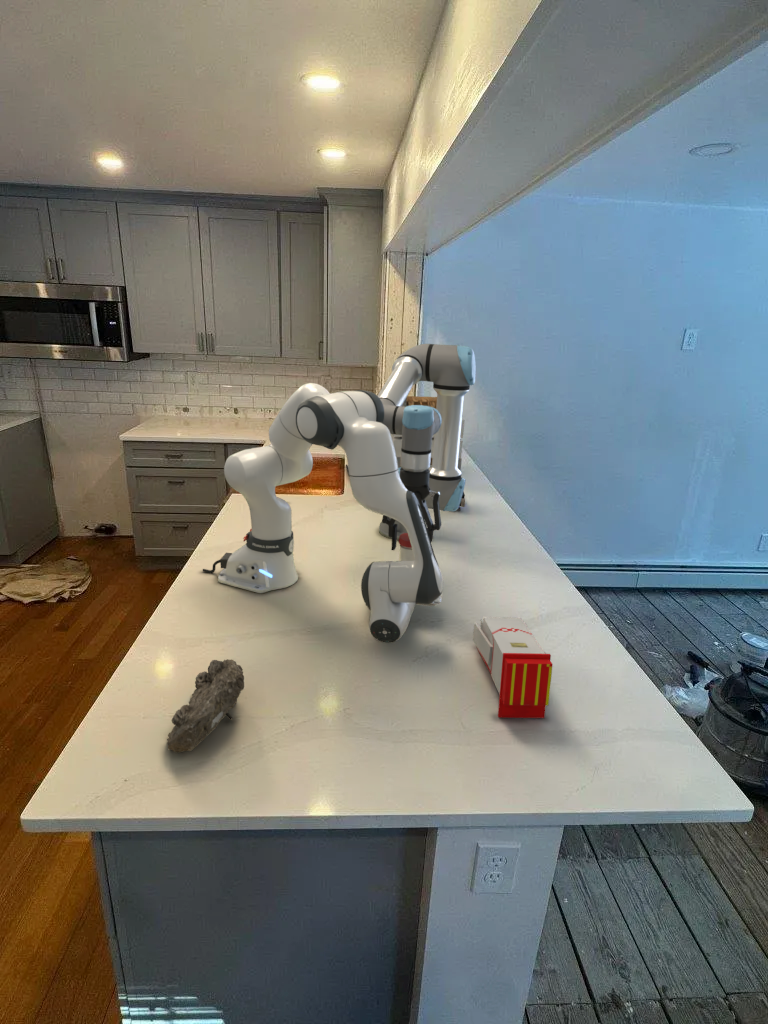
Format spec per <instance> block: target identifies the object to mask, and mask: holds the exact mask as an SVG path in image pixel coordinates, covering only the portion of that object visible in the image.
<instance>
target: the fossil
mask: <svg viewBox="0 0 768 1024" xmlns="http://www.w3.org/2000/svg"><path fill="white" fill-rule="evenodd" d="M243 670H244V669H243V667H242V665H240V664H237V662H236V661H235V660H234V659H232V658H231V659H227V658H226V659H224V660H223V661H222V660H217V659H212V660H211V661H210V663H209V665H208V666H207V671H201V672H199V673H198V674H197V675H196V676H195V680H194V684H195V685H194V687H195V689H194V690H193V693H192V694H191V697H190V698H189V700H188V704H184V705H182V706H181V707H180V709H177V710H176V711H175V713H174V715H173V716H172V718H171V723H172V724H173V727H172V730H171V731H170V732H168V734H167V738H166V741H167V742H166V745H167V749H168V750H169V751H173V752H174V753H176V754H178V753H182V752H188V751H189V752H192V751H193V750H195V748H196V747H197V746H199V744H200V743H201V742H203V741H204V740H205V739H206V738H207V737H208V736H209V735H210V734H211V733H212V732H214V730H215V729H217V727H218V726H219V724H220V722H221V721H222V720H223V719H224V718H225V716H226V717H227V719H229V720H233V717H232V715H230V714H229V710H230V709H231V708H234V706H235V704H236V703H237V702H238V699H239V697H240V695H241V693H242V691H243V690H245V689H244V688H245V675H244V671H243Z"/></svg>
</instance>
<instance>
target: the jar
mask: <svg viewBox="0 0 768 1024" xmlns="http://www.w3.org/2000/svg"><path fill="white" fill-rule="evenodd" d="M398 552H399V553H398V561H412V560H415V556H414V553H413V549H412V548H409V547H404V546H402V545H400V544H399V551H398Z"/></svg>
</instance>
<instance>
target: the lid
mask: <svg viewBox="0 0 768 1024" xmlns="http://www.w3.org/2000/svg"><path fill="white" fill-rule="evenodd" d="M398 544H399V546H400V545H402V546H404V547H409V548H412V546H411V543H410V539H409V536H408V533H404V534H401V535H400V536H399V540H398Z"/></svg>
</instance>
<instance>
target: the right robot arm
mask: <svg viewBox="0 0 768 1024" xmlns="http://www.w3.org/2000/svg"><path fill="white" fill-rule="evenodd" d="M476 365H477V364H476V355H475V351H474V349H473V348H472V347H470V346H466V345H465V346H464V345H460V344H440V343H439V344H438V343H421V344H417V345H415V346H412V347H410V348H409V349H407V350H405V351H403V352H402V353H401V354H399V356H397V358H396V359H395V360H394V362H393V364H392V367H391V373H390V374H389V376H388V378H387V380H386V381H385V383H384V384H383V386H382V387H381V389H380V390H379V392H378V394H376V395H377V396H378V397H379V398H380V400H381V402H382V404H383V407H384V420H383V423H382V424H384V425H385V426H387V428H388V429H389V431H390V434H396V435H402V447H401V461H400V466H401V468H398V471H399V475H400V478H401V481H402V483H403V484H404V486H405V487H406V489H407V490H409V491H411V492H413V493H414V494H415V496H416V497H417V499H418V502H419V504H420V507H421V510H422V513H423V517H424V520H425V523H426V527H427V530H428V534H429V537H430V541H431V543H432V542H433V541H434V534H435V533H434V532H435V531H440V529H441V527H442V519H441V511H443V512H456V511H457V510H459V509H458V507H459V505H460V502H461V499H462V495H463V491H465V486H466V479H465V478H464V477H462V470H461V471H460V470H459V469H458V456H459V445H460V439H461V438H460V434H461V423H462V419H463V410H464V402H465V401H464V399H465V395H466V394H467V393H468V392H470V388H471V386H474V385H475V383H476V375H477V374H476V372H477V371H476V370H477V367H476ZM419 382H429V383H432V389H433V390H434V391H435V393H436V397H437V405H436V409H435V408H433V407H429V406H423V405H411V406H407V407H401V406H402V405H403V403H404V401H405V399H406V397H407V396H409V394H410V392H411V390H412V388H413V387H414V386H415V385H416V384H418V383H419ZM433 435H434V444H433V457H432V465H430V460H431V444H432V436H433ZM345 468H346V472H347V475H348V476H349V470H348V464H345ZM429 510H433V518H432V516H431V513H430V511H429ZM433 520H434V521H433ZM378 533H379V534H380V535H381V536H382V537H385V538H387V539H389V540H391V547H390V550H391V551H395V550H396V548H397V541H399V536H400V535H401V534H404V533H408V532H407V530H406V528H405V527H404V526H403V525H402V524H401V523H400V522H398V521H397V520H395V519H393V518H390V517H388V516H385V515H382V519H381V522H379V526H378Z"/></svg>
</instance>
